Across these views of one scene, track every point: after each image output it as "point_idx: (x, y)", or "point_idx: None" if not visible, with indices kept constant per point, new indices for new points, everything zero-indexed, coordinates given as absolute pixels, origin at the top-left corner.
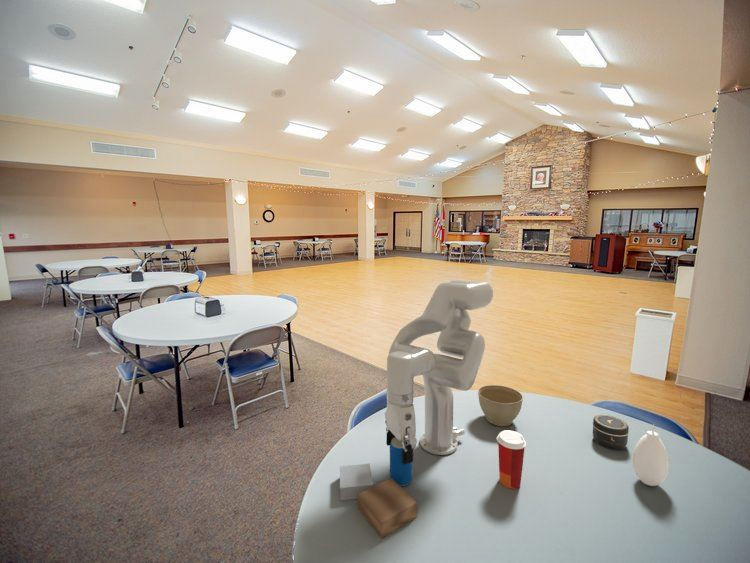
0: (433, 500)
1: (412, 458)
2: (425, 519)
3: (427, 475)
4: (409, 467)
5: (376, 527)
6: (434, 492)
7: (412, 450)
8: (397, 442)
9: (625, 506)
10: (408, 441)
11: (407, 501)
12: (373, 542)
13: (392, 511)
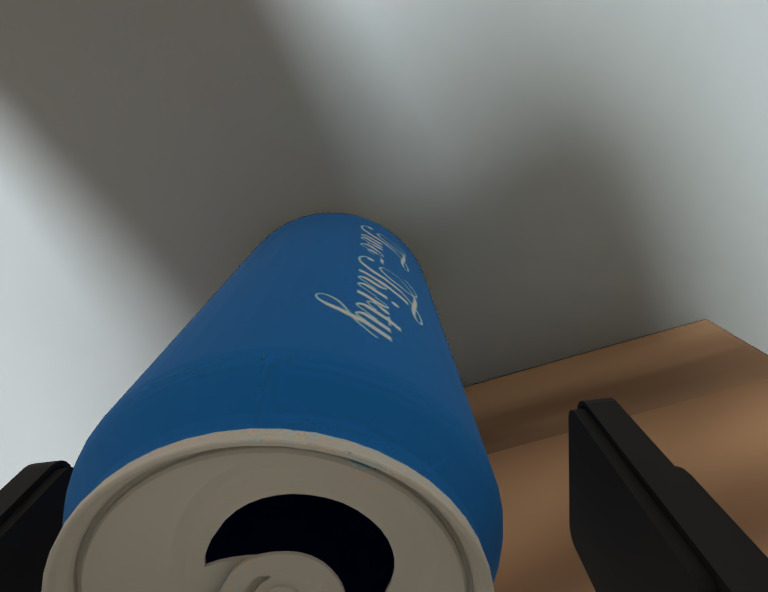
0: (638, 137)
1: (632, 432)
2: (753, 274)
3: (345, 43)
4: (439, 320)
5: None
6: (566, 84)
7: (743, 562)
8: None
9: None
10: (274, 461)
11: (742, 434)
12: None
13: (761, 549)
